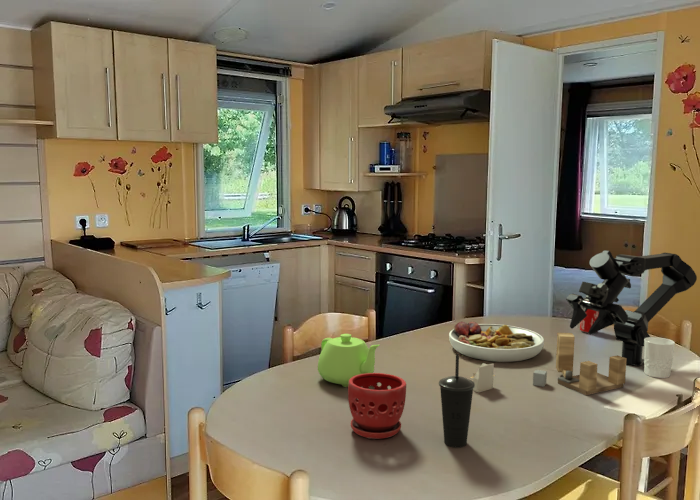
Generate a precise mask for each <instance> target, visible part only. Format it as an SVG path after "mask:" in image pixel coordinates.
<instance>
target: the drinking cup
mask: <svg viewBox="0 0 700 500" xmlns="http://www.w3.org/2000/svg"><path fill="white" fill-rule="evenodd" d="M459 364H460V353H455V369H454V370H455V372H454V373H455V375H451V376H447V377H443V378H441V379H439V381H438V386H439V387H440V388H439V389H440V399H441V400H440V401H441V403H440V404H441V416H442V427H443V439H444V441H443V442H444V444H445V445H446V446H448V447H452V448H463V447H465V446H466V445H467V443H468V433H469V427H470V426H469V425H470V420H471V419H470V418H471V409H472V404H473V403H472V401H473V394H474V391H473V388H474V387H475V383H474V382H473V380H472V379H470V378H468V377H465V376H461V375H459V371H460V369H459V368H460V366H459Z"/></svg>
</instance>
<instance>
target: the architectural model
mask: <svg viewBox="0 0 700 500" xmlns="http://www.w3.org/2000/svg"><path fill="white" fill-rule="evenodd" d="M494 366H495V363H489V364H486V363H484V362H483V363H482V364H481V365H480V366H479V367H478V370H477V371H476V373H473V375H472V376H469V380H472V381H473V382H474V383H475V387H474V388H473V392H476V393H481V392H485V391H488V390H493V389H494V378H496V375H495V374H494V372H495V371H494V368H495V367H494Z"/></svg>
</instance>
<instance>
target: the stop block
mask: <svg viewBox="0 0 700 500" xmlns="http://www.w3.org/2000/svg"><path fill="white" fill-rule="evenodd" d="M547 372H548V371H547V370H543V369H542V370H541V369H535V370H534V371H533V374H532V385H533V386H535V387H543V388H545V386H546V385H547V375H548V373H547Z"/></svg>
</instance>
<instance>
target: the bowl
mask: <svg viewBox="0 0 700 500" xmlns="http://www.w3.org/2000/svg"><path fill="white" fill-rule="evenodd" d="M448 337H449V338H448V339H449V342H450V345H451V346H452V348H453V349H455V351H456V352H458V354H462V355H463V356H466V357H468V358H473V359H475V360H476V359H477V360H482V361H487V362H495V363H496V362H499V363H501V362H502V363H509V362H510V363H511V362H520V361H526V360H529V359H531V358H534V357H535V356H537V355H539V354H540V353H541V351H542V350H543V348H544V344H545V340H544V337H543V336H542V335H541V334H539V333H538V332H536V331H534V330H530V329H529V328H523V327H520V326H519V327H518V326H514V325H507V324H495V323H478V322H475V321H469V322H468V323H467V322H466V321H459V322H457V323H456V324H455V325H454V327H453V329H452V330H450V331H449V333H448Z"/></svg>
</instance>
